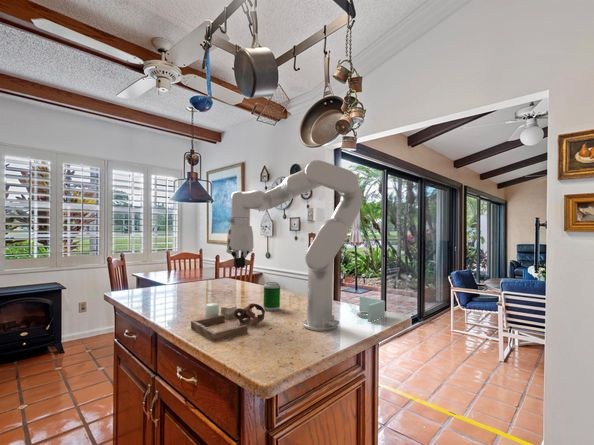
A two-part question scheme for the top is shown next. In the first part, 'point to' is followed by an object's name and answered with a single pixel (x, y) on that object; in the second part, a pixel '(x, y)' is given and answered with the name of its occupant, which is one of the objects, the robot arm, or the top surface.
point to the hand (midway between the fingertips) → (239, 267)
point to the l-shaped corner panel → (371, 308)
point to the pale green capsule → (212, 310)
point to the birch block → (228, 311)
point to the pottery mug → (250, 313)
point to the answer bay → (214, 336)
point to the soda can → (271, 296)
